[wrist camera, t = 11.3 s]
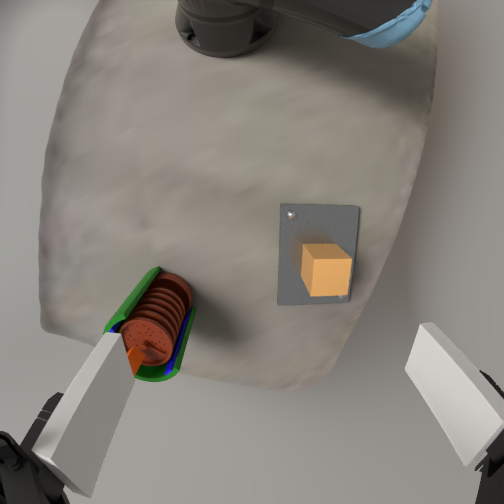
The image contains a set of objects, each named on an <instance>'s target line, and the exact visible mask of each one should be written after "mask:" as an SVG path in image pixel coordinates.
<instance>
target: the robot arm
mask: <svg viewBox="0 0 504 504" xmlns="http://www.w3.org/2000/svg"><path fill="white" fill-rule="evenodd" d="M178 2H179V3H178V7H177V11H176V17H175V22H176V27H177V30H178V32H179V34H180V36H181V38H182V40H183V41H184V42H185V43H186V44H187V45H188V46H189V47H190V48H191V49H193V50H195V51H197V52H199V53H201V54H204V55H208V56H213V57H233V56H238V55H242V54H246V53H248V52H251V51H253V50H255V49H257V48H258V47H260V46H261V45H263V44H264V43H265V42H266V41H267V40H268V39H269V38H270V36H271V35H272V33H273V31H274V29H275V26H276V21H277V13H279V14H282V15H286V16H289V17H292V18H295V19H299V20H302V21H305V22H308V23H310V24H313V25H316V26H319V27H321V28H324V29H327V30H329V31H332V32H334V33H337V34H338V36H340V37H342V38H345V39H351V40H354V41H356V42H358V43H361V44H363V45H365V46H368V47H371V48H387V47H390V46H393V45H395V44H397V43H399V42H401V41H402V40H404V39H405V38H406V37H408V36H409V35H410V34H411V33H412V32H413V31H414V30H415V29H416V28H417V27H418V26H419V25H420V24H421V22H422V21H423V19H424V18H425V12H426V11H427V10H428V9H429V8H430V6H431V2H432V0H178ZM405 371H406V372H407V374H408V375H409V377H410V378H411V380H412V381H413V383H414V384H415V386H416V387H417V389H418V390H419V392H420V393H421V395H422V396H423V398H424V400H425V401H426V403H427V404H428V406H429V407H430V409H431V411H432V412H433V414H434V415H435V417H436V419H437V420H438V422H439V424H440V425H441V427H442V428H443V430H444V432H445V433H446V435H447V437H448V438H449V440H450V442H451V444H452V445H453V447H454V449H455V450H456V452H457V454H458V456H459V457H460V459H461V460H462V462H463V464H464V466H467V465H469V464H471V463H472V462H474V461H476V460H477V459H478V458H479V457H480V456H481V455H482V454H483V453H484V452H485V451H487V453H488V454H487V455H486V456H485V457H484V459H483V460H482V461H481V462H480V463H479V464H478V465H477V466H476V468H475V471H477V470H478V469H479V468H480V467H481V466H482V465H483V467H482V468H481V469H480V471H481V472H482V476H481V481H480V486H479V490H478V495H477V498H476V502H475V504H504V392H503V391H501V389H500V388H499V386H498V385H496V383H495V382H494V381H493V379H492V378H491V377H490V376H489V375H487V374H486V373H484V372H482V371H481V370H480V371H479V370H478V369H477V368H476V367H475V366H474V365H473V364H472V363H471V362H470V361H469V359H468V358H467V357H466V356H465V355H464V354H463V353H462V352H461V351H460V350H459V349H458V348H457V347H456V346H455V345H454V344H453V342H451V340H449V338H448V337H447V336H446V335H445V334H444V333H443V332H442V331H441V330H440V329H439V328H438V327H437V326H436V325H435V324H434V323H433V322H428V323H422V324H420V326H419V329H418V332H417V335H416V338H415V342H414V344H413V348H412V351H411V353H410V356H409V359H408V362H407V364H406V367H405ZM134 383H135V379H134V376H133V373H132V369H131V366H130V363H129V360H128V357H127V353H126V350H125V346H124V343H123V339H122V335H121V334H119V333H109V332H106V333H105V334H104V335H103V337H102V338H101V340H100V341H99V342H98V344H97V345H96V347H95V348H94V350H93V351H92V353H91V354H90V356H89V357H88V358H87V360H86V361H85V363H84V365H83V366H82V367H81V369H80V370H79V372H78V373H77V375H76V377H75V378H74V380H73V381H72V383H71V384H70V386H69V387H68V389H67V391H66V392H65V394H62V393H59V392H57V393H56V394H55V395H53V396H52V397H51V398H50V399H48V401H47V402H46V404H45V405H44V407H43V408H42V411H41V412H40V413H39V415H38V416H37V417H38V418H37V419H36V420H35V421H34V423H33V424H32V426H31V428H30V429H29V431H28V433H27V434H26V436H25V438H24V440H23V441H22V443H21V445H20V446H19V445H18V444H17V443H16V441H15V440H14V439H13V438H12V437H11V436H10V435H9V434H8V433H6V432H4V431H0V504H70V503H69V501H68V498H67V496H66V494H65V492H64V491H63V488H64V485H66V486H67V487H68V488H69V489H70V490H71V491H72V492H75V493H77V494H80V495H83V496H86V497H88V498H91V495H92V493H93V490H94V487H95V484H96V481H97V478H98V475H99V472H100V469H101V467H102V464H103V461H104V458H105V456H106V453H107V450H108V447H109V445H110V442H111V439H112V437H113V434H114V432H115V429H116V427H117V424H118V421H119V419H120V417H121V414H122V412H123V409H124V407H125V404H126V402H127V399H128V397H129V395H130V392H131V390H132V387H133V385H134Z"/></svg>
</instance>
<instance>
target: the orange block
mask: <svg viewBox="0 0 504 504" xmlns="http://www.w3.org/2000/svg"><path fill="white" fill-rule="evenodd" d="M351 264H352V258H351V257H350V256H349V255H348V254H346V253H345V252H344V251H343V250H342V249H341V248H340V247H339V246H338V245H337V244H303V253H302V269H301V277H302V279H303V281H304V283H305V286H306V288H307V290H308V292H309V294H310V296H311V297H313V296H336V295H347V293H348V286H349V279H350V272H351Z"/></svg>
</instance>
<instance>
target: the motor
mask: <svg viewBox="0 0 504 504" xmlns="http://www.w3.org/2000/svg"><path fill="white" fill-rule="evenodd" d="M159 271H160V268H159V266H158V267H155V268H153V269H152V270H150V271H149V272H148V273H147V274H146V275H145V276H144V277H143V279H142V280H141V281H140V282H139V284H138V285H137V286H136V287H135V289H134V290H133V291H132V292H131V294H130V295H129V296H128V297H127V299H126V300H125V301H124V303H123V304H122V305H121V306H120V308H119V309H118V310H117V312H116V313H115V314H114V316H113V317H112V318H111V320H110V321H109V322H108V324H107V325H106V327H105V329H104V333H103V335H104V334H105V333H106V332H109V333H119V334H121V335H122V339H123V343H124V346H125V350H126V353H127V357H128V360H129V363H130V366H131V369H132V373H133V376H134V378H137V379H140V380H143V381H148V382H160V381H165V380H168V379H170V378H172V377H173V376H175V375H176V374H177V373H178V372H179V370H180V367H181V363H182V359H183V355H184V352H185V348H186V344H187V341H188V337H189V333H190V330H191V326H192V323H193V319H194V316H195V312H196V309H195V308H192V309H191V310H190V309H189V308H190V305H191V302H192V292H191V289H190V287H189V285H188V283H187V282H186V281H185V280H184V279H183V278H181V277H180V276H178V275H176V274H172V273H161V274H158V273H159ZM157 274H158V275H157Z"/></svg>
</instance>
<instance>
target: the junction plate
mask: <svg viewBox="0 0 504 504" xmlns="http://www.w3.org/2000/svg"><path fill="white" fill-rule="evenodd" d="M358 216H359V206H352V205H325V204H280V238H279V270H278V296H277V304H278V305H306V304H328V303H346V302H348V301H349V295H350V288H351V281H352V274H353V266H354V258H355V249H356V239H357V228H358ZM303 244H337V245H338V246H339V247H340V248H341V249H342V250H343V251H344V252H345V253H346V254H348V255H349V256H350V257H351V258H352V264H351V272H350V279H349V286H348V293H347V295H336V296H313V297H311V296H310V294H309V292H308V290H307V288H306V286H305V283H304V281H303V279H302V277H301V269H302V253H303Z"/></svg>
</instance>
